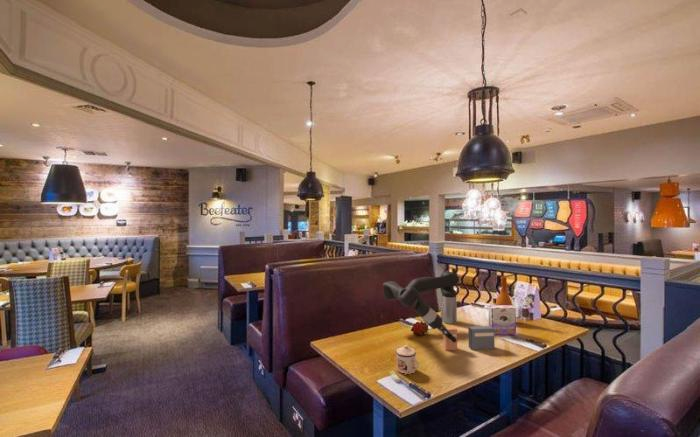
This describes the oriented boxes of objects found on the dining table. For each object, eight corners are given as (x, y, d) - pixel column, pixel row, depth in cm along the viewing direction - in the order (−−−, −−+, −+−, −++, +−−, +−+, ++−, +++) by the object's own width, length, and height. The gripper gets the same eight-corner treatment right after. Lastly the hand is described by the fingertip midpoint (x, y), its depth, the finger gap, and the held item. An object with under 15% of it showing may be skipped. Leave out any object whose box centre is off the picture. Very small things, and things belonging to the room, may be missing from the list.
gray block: (471, 349, 171) (471, 329, 171) (468, 346, 175) (468, 326, 175) (494, 349, 172) (494, 328, 171) (491, 345, 176) (490, 325, 175)
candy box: (512, 331, 195) (512, 304, 194) (516, 335, 189) (516, 307, 189) (488, 331, 196) (488, 304, 196) (491, 335, 190) (491, 307, 190)
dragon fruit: (430, 336, 195) (412, 341, 192) (423, 324, 201) (406, 329, 198) (433, 328, 189) (415, 333, 186) (426, 316, 196) (408, 321, 192)
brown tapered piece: (515, 324, 207) (515, 277, 206) (500, 324, 207) (499, 278, 206) (508, 319, 216) (507, 274, 216) (493, 319, 217) (492, 275, 216)
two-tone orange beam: (446, 350, 171) (445, 329, 171) (443, 347, 175) (443, 326, 175) (457, 350, 171) (457, 329, 171) (454, 346, 175) (454, 326, 175)
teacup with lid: (392, 369, 152) (391, 345, 152) (405, 363, 158) (405, 340, 157) (411, 379, 143) (411, 353, 142) (425, 373, 148) (424, 348, 148)
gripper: (422, 318, 179) (444, 339, 180) (429, 327, 165) (453, 350, 166) (432, 308, 179) (454, 329, 180) (440, 317, 165) (463, 339, 166)
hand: (453, 339), depth 173 cm, fingers closed on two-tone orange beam, 4 cm apart
